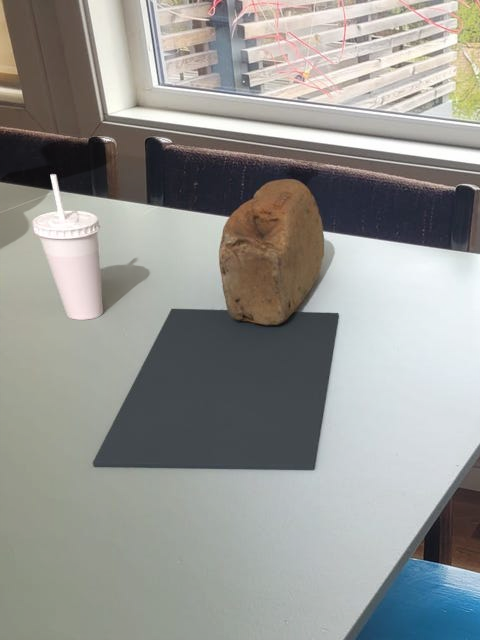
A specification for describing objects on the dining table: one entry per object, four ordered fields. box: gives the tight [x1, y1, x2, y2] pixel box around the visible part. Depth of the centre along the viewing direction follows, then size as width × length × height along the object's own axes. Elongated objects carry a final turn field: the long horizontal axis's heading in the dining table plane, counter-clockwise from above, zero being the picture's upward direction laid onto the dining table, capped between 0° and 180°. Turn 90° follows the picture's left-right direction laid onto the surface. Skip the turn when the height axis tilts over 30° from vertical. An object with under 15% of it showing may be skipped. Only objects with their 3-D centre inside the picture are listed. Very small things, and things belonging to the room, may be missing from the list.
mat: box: [92, 308, 340, 471], centre depth 95 cm, size 18×34×1 cm, turn 3°
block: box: [218, 178, 325, 325], centre depth 109 cm, size 11×8×20 cm
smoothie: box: [32, 173, 104, 321], centre depth 102 cm, size 6×6×14 cm
